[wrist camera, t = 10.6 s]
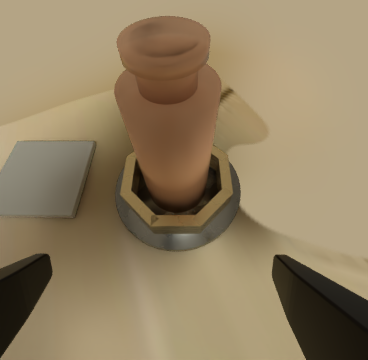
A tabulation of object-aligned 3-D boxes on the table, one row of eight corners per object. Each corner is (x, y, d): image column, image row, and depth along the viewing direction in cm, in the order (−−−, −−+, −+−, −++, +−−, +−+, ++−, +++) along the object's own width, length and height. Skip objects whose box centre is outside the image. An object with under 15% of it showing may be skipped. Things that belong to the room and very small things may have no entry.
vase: (176, 225, 17) (158, 98, 6) (137, 186, 18) (72, 39, 8) (217, 185, 18) (255, 35, 8) (177, 154, 20) (167, -1, 10)
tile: (74, 217, 18) (71, 215, 17) (-17, 217, 18) (-23, 214, 17) (96, 144, 22) (93, 141, 21) (21, 145, 22) (17, 141, 21)
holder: (176, 284, 15) (174, 281, 13) (93, 189, 19) (80, 175, 17) (263, 188, 19) (273, 172, 17) (178, 126, 23) (177, 107, 21)
